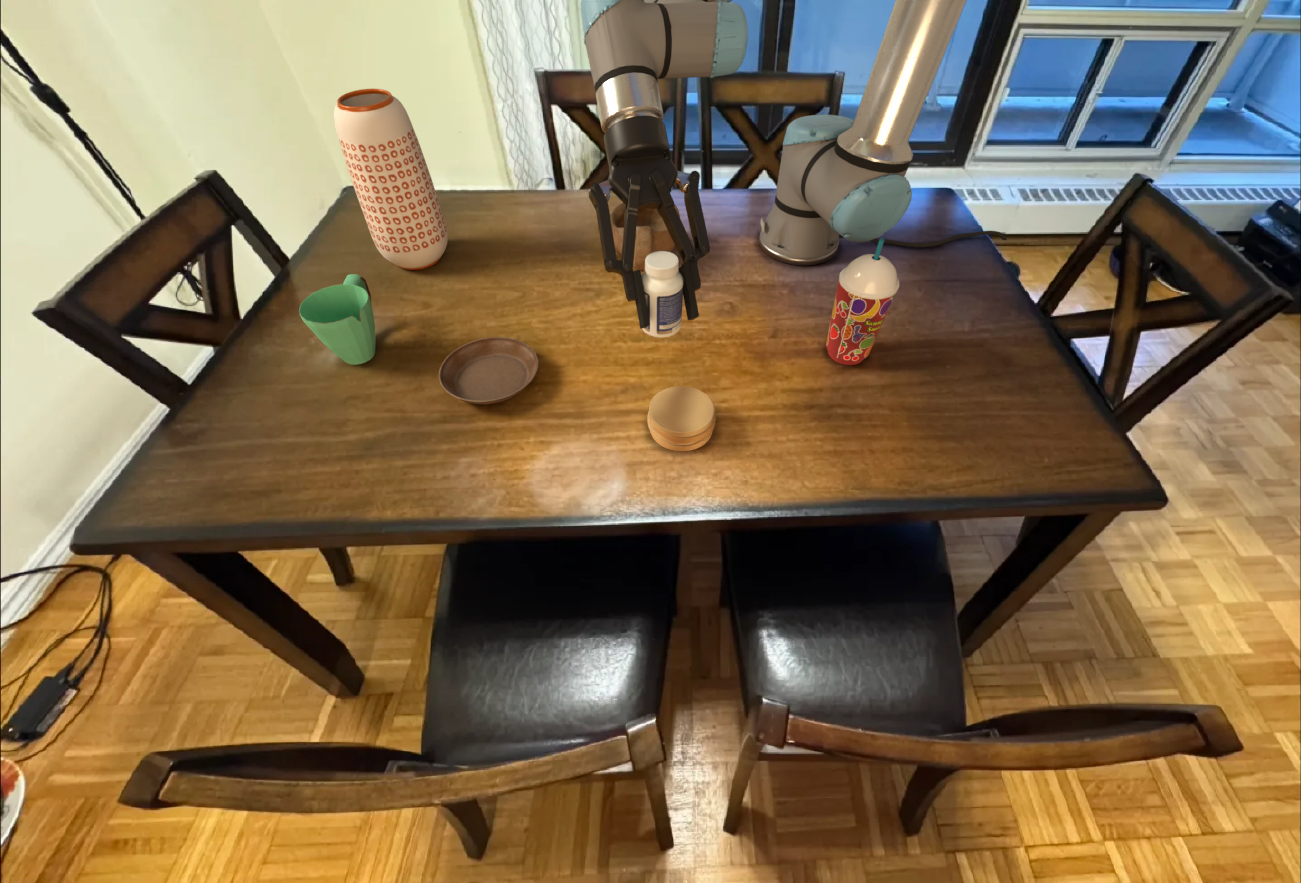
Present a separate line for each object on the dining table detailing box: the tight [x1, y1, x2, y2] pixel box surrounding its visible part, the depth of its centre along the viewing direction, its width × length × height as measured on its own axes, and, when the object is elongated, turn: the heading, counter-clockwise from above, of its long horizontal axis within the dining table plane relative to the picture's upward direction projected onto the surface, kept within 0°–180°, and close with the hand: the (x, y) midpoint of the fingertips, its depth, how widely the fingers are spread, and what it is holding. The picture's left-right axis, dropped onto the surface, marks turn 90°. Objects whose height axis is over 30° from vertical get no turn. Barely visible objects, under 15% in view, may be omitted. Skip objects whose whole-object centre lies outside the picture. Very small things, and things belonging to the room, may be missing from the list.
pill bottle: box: [641, 251, 684, 339], centre depth 73 cm, size 5×5×10 cm
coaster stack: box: [646, 385, 717, 452], centre depth 82 cm, size 10×10×4 cm
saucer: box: [438, 336, 539, 405], centre depth 89 cm, size 15×15×3 cm
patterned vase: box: [333, 88, 449, 271], centre depth 103 cm, size 13×13×28 cm
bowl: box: [610, 202, 681, 271], centre depth 110 cm, size 18×14×10 cm
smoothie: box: [825, 238, 900, 366], centre depth 86 cm, size 8×8×20 cm
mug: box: [298, 273, 377, 366], centre depth 92 cm, size 15×10×10 cm
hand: (669, 322), depth 72 cm, fingers closed on pill bottle, 5 cm apart
